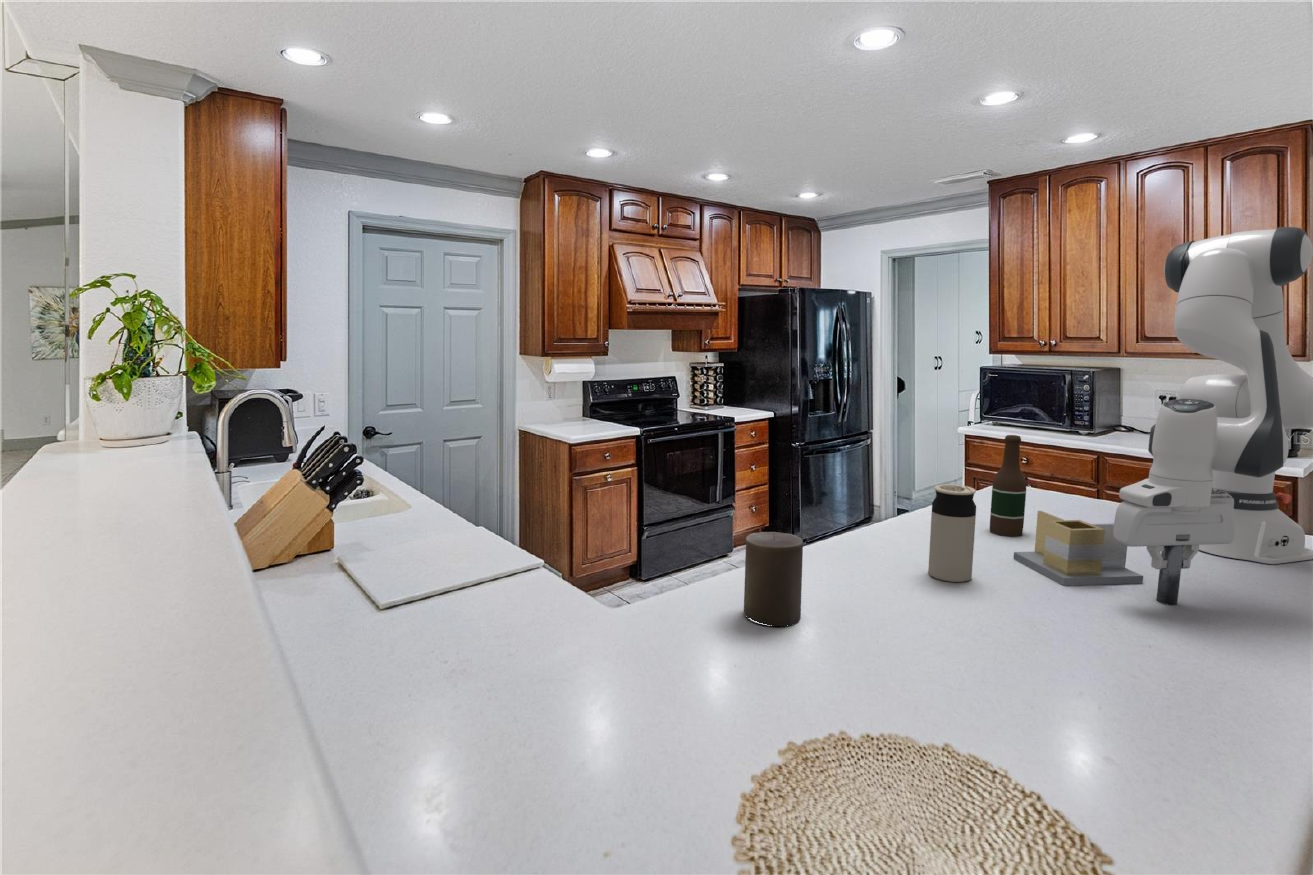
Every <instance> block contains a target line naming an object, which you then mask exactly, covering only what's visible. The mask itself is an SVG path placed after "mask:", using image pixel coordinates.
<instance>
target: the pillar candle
mask: <svg viewBox="0 0 1313 875" xmlns="http://www.w3.org/2000/svg"><path fill="white" fill-rule="evenodd" d="M803 549H804V541H803V539H802V538H801V537H799V536H798V535H795V534H791V533H788V532H787V533H784V532H776V531H762V532H753V533H752V532H751V533H750V534H749V535H747V536H746V537H745V557H744V558H745V562H744V563H745V564H744V593H743V594H744V595H743V597H744V598H743V614H745V615H746V616H747V617H748V618H751V619H752V620H754V621H757V622H759V623H763V624H767V625H772V626H771V627H773V626H780V627H779V628H782V627H781V626H787V625H790V626H793V625H792V624H794V625H796V624H797V623H799V622H800V621H799V620H801V618H802V617H801V615H802V586H803V584H802V581H803V556H804V555H803V551H804V550H803ZM745 615H744V616H745ZM798 621H799V622H798ZM795 623H796V624H795ZM787 627H788V626H787Z"/></svg>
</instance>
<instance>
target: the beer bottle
mask: <svg viewBox="0 0 1313 875" xmlns="http://www.w3.org/2000/svg"><path fill="white" fill-rule="evenodd" d="M1021 441H1022V438H1021V436H1020V435H1016V434H1014V435H1013V434H1007V435H1005V437H1004V442H1005V444H1004V451H1003V458H1002V464H1001V467H1000V468H999V470H998V471H997V472H996V474H995V476H994V479H993V482H992V489H991V502H990V517H989V532H990V533H992V534H995V535H998V536H1001V537H1002V536H1004V537H1011V538H1012V537H1015V538H1016V537H1022V536H1023V531H1024V524H1025V522H1024V521H1025V514H1026V513H1025V511H1026V510H1025V509H1026V499H1027V480H1026V477H1025V476H1026V475H1025V473H1023V470H1022V469H1021V464H1020V463H1021V462H1020V461H1021V460H1020V458H1021V457H1020V452H1021V451H1020V448H1021V447H1020V446H1021V444H1020V443H1021Z"/></svg>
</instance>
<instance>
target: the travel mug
mask: <svg viewBox="0 0 1313 875" xmlns="http://www.w3.org/2000/svg"><path fill="white" fill-rule="evenodd" d="M934 491H935V498H934V499H933V501H932V502H931V520H930V534H929V536H930V537H929V538H930V539H929V554H928V569H927V570H928V571H927V572H928V574H929V575H930V576H931V577H933V578H935V579H936V580H940V581H943V582H944V581H945V582H949V583H963V582H967V581H970V580H971V579H972V577H973V576H972V575H973V564H974V563H973V562H974V547H975V532H976V518H977V516H976V515H977V505H976V503H975V501H974V497H975V494H976V492H977V490H976V489H975V488H973V487H971V486H968V485H961V484H960V485H959V484H948V483H947V484H939V485H938V484H937V485H935V486H934Z"/></svg>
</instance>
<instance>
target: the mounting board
mask: <svg viewBox="0 0 1313 875" xmlns="http://www.w3.org/2000/svg"><path fill="white" fill-rule="evenodd" d="M1013 560H1015V561H1017V562H1019V563H1021V564H1023V565H1025V566H1026V567H1028V568H1030V569H1031V570H1034V571H1035V572H1038V573H1039V574H1041V575H1043V576H1045V577H1047V578H1049V579H1051V580H1052V581H1054V582H1055V583H1058V584H1060V585H1061V586H1064V587H1066V586H1067V587H1068V586H1071V587H1072V586H1095V585H1096V586H1099V585H1129V584H1130V585H1131V584H1143V582H1144V575H1143V574H1141V573H1138V572H1136V571H1133V570H1131V569H1129V568H1127V567H1125V568H1102V569H1101V574H1094V575H1065V574H1063V573H1061V572H1059V571H1057V570H1055V569H1053V568H1051V567H1049V566H1047V565H1045V564H1043V560H1044V556H1043V555H1041V554H1039V553H1037V552H1035V550H1034V551H1014V552H1013Z"/></svg>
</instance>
